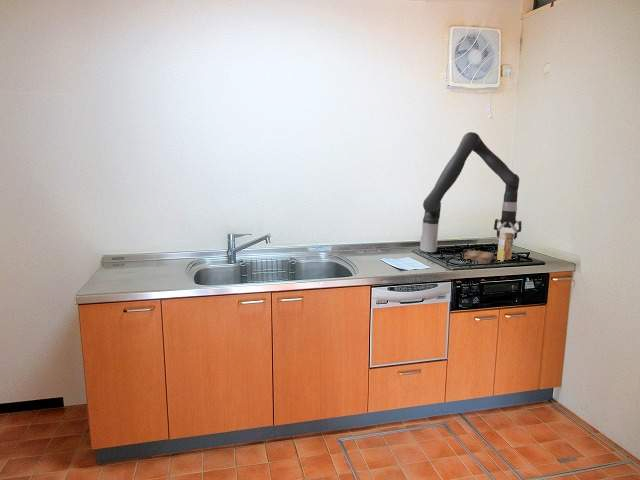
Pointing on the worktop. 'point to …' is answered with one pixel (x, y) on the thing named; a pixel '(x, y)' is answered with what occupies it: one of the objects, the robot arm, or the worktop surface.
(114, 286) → the worktop surface
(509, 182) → the robot arm
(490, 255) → the walnut base
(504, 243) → the candy box
